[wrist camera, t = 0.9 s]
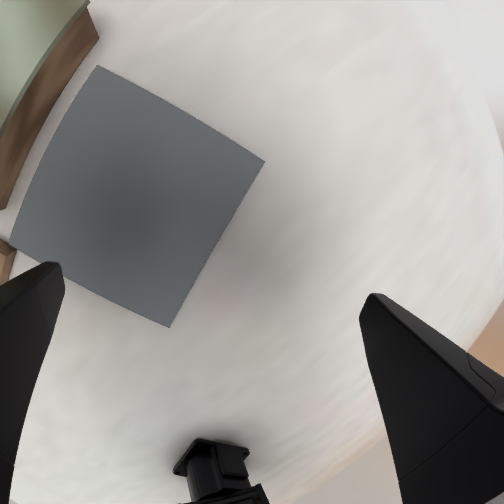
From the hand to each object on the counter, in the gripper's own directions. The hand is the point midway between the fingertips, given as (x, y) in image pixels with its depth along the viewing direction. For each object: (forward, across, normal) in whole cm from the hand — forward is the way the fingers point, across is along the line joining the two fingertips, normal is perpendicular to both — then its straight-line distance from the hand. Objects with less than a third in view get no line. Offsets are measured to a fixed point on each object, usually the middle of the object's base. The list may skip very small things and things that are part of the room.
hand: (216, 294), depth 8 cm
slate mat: (+13, +6, +3) cm, 15 cm away
